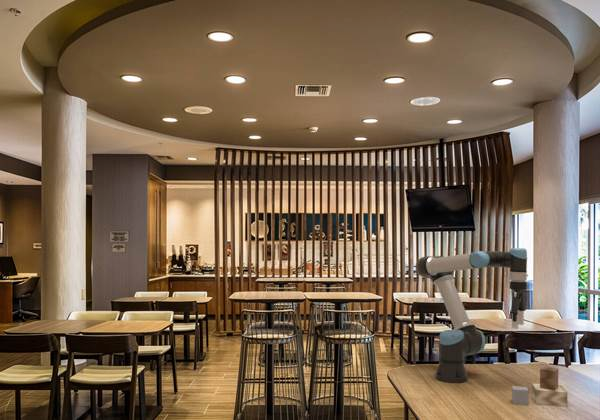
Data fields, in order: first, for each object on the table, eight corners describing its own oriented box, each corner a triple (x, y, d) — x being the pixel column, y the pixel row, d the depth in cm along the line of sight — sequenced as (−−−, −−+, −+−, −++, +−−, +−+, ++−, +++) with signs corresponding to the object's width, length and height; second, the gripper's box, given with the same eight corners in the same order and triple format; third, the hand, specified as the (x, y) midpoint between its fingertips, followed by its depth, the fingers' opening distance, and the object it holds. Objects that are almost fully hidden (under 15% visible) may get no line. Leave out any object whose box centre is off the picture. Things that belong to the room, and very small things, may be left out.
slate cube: (513, 403, 238) (513, 389, 238) (511, 400, 244) (511, 385, 244) (528, 405, 236) (528, 390, 237) (527, 401, 242) (526, 387, 242)
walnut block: (539, 387, 242) (539, 368, 243) (543, 385, 247) (543, 366, 247) (555, 390, 239) (554, 370, 239) (558, 387, 244) (558, 368, 244)
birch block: (536, 404, 238) (536, 390, 239) (531, 397, 250) (531, 383, 250) (567, 407, 235) (567, 392, 236) (561, 399, 247) (561, 385, 247)
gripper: (521, 283, 255) (521, 331, 254) (531, 280, 276) (530, 324, 275) (504, 282, 258) (503, 329, 258) (515, 278, 280) (514, 322, 279)
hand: (517, 326), depth 266 cm, fingers open, 13 cm apart
